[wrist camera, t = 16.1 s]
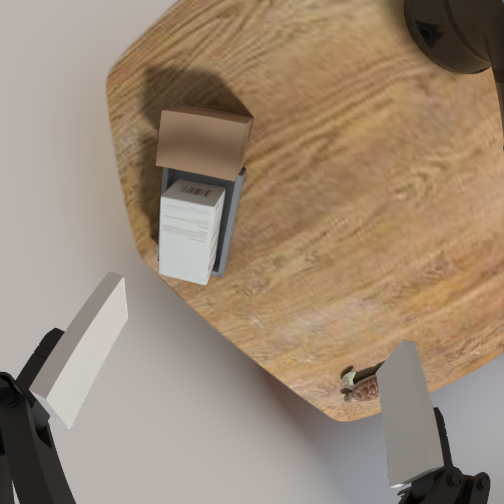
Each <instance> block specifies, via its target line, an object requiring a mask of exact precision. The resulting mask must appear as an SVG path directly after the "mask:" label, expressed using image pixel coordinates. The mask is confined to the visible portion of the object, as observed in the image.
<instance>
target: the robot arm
mask: <svg viewBox="0 0 504 504" xmlns="http://www.w3.org/2000/svg"><path fill="white" fill-rule="evenodd" d="M404 13H405V19H406V22H407V26H408V28H409V31H410V33H411V35H412V37H413V38H414V40H415V42H416V43H417V45H418V46H419V47H420V49H421V50H422V51H423V52H424V53H425V54H426V55H427V56H428V57H429V58H430V59H431V60H432V61H433V62H435V63H436V64H437V65H439V66H440V67H442V68H444V69H446V70H448V71H451V72H454V73H458V74H478V73H481V72H483V71H485V70H487V69H488V68H489V67H490V66H491V67H492V70H493V74H494V79H495V84H496V89H497V94H498V100H499V105H500V112H501V119H502V127H503V136H504V0H405V3H404ZM503 150H504V146H503ZM127 319H128V312H127V304H126V294H125V284H124V276H123V275H119V274H116V273H113V272H108V274H107V275H106V276H105V278H104V279H103V280H102V281H101V283H100V284H99V285H98V287H97V288H96V289H95V291H94V292H93V293H92V295H91V296H90V298H89V299H88V300H87V301H86V303H85V304H84V306H83V307H82V308H81V310H80V311H79V312H78V314H77V315H76V317H75V318H74V320H73V321H72V323H71V324H70V325H69V327H68V328H67V330H66V331H65V332H64V331H62V330H60V329H58V328H54V329H53V330H51V331H50V332H49V333H47V334H46V335H45V336H44V338H43V339H42V341H41V342H40V344H39V346H38V347H37V348H36V350H35V351H34V353H33V354H32V355H31V357H30V359H29V360H28V362H27V363H26V365H25V366H24V368H23V369H22V371H21V373H20V374H19V376H18V377H17V379H16V380H14V378H13V377H12V376H11V375H10V374H8V373H6V372H0V504H15V503H14V494H13V485H12V481H13V484H14V487H15V491H16V494H17V497H18V500H19V503H20V504H76V502H75V500H74V498H73V495H72V493H71V491H70V488H69V486H68V483H67V480H66V478H65V475H64V472H63V469H62V466H61V463H60V461H59V457H58V454H57V451H56V448H55V445H54V441H53V437H52V434H51V430H50V426H49V423H48V420H49V418H50V416H51V417H52V418H53V420H54V421H55V422H57V423H59V424H61V425H62V426H64V427H66V428H68V429H71V427H72V425H73V423H74V420H75V418H76V416H77V414H78V412H79V410H80V408H81V405H82V404H83V402H84V399H85V398H86V396H87V393H88V391H89V389H90V387H91V385H92V383H93V382H94V380H95V378H96V376H97V374H98V372H99V370H100V368H101V366H102V364H103V362H104V360H105V359H106V357H107V355H108V353H109V351H110V349H111V347H112V346H113V344H114V342H115V340H116V338H117V337H118V335H119V333H120V331H121V329H122V328H123V326H124V324H125V322H126V321H127ZM376 377H377V383H378V389H379V396H380V402H381V409H382V417H383V425H384V433H385V443H386V453H387V465H388V479H389V488H392V487H400V486H404V485H406V484H409V483H411V485H412V486H411V487H408V488H406V489H404V490H402V491H400V492H399V493H398V494H397V495H401V494H403V493H405V494H404V495H403V496H401V498H402V499H401V501H400V502H399V503H398V504H487V501H488V496H489V491H490V478H489V476H488V474H486V473H485V472H481V473H479V474H477V475H475V476H469V475H464V474H462V472H461V471H460V470H459V469H458V468H456V467H454V466H453V464H452V460H451V453H450V448H449V443H448V438H447V436H446V434H447V432H446V429H445V423H444V419H443V416H442V414H441V412H440V411H439V409H438V407H436V408H433V406H432V401H431V397H430V393H429V390H428V386H427V382H426V378H425V375H424V371H423V368H422V364H421V361H420V357H419V354H418V351H417V348H416V345H415V341H408V340H402V341H401V342H400V344H399V345H398V346H397V347H396V349H395V350H394V351H393V352H392V354H391V355H390V356H389V357H388V358H387V360H386V361H385V362H384V363H383V364H382V366H381V367H380V368H379V369H378V370H377V372H376Z"/></svg>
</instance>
